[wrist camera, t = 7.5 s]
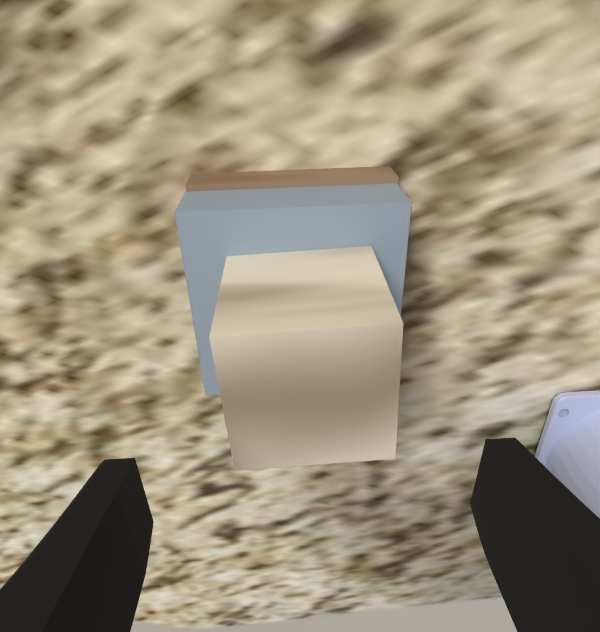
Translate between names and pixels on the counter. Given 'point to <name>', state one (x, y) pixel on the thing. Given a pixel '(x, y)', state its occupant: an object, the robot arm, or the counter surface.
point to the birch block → (307, 358)
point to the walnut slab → (291, 178)
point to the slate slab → (284, 237)
